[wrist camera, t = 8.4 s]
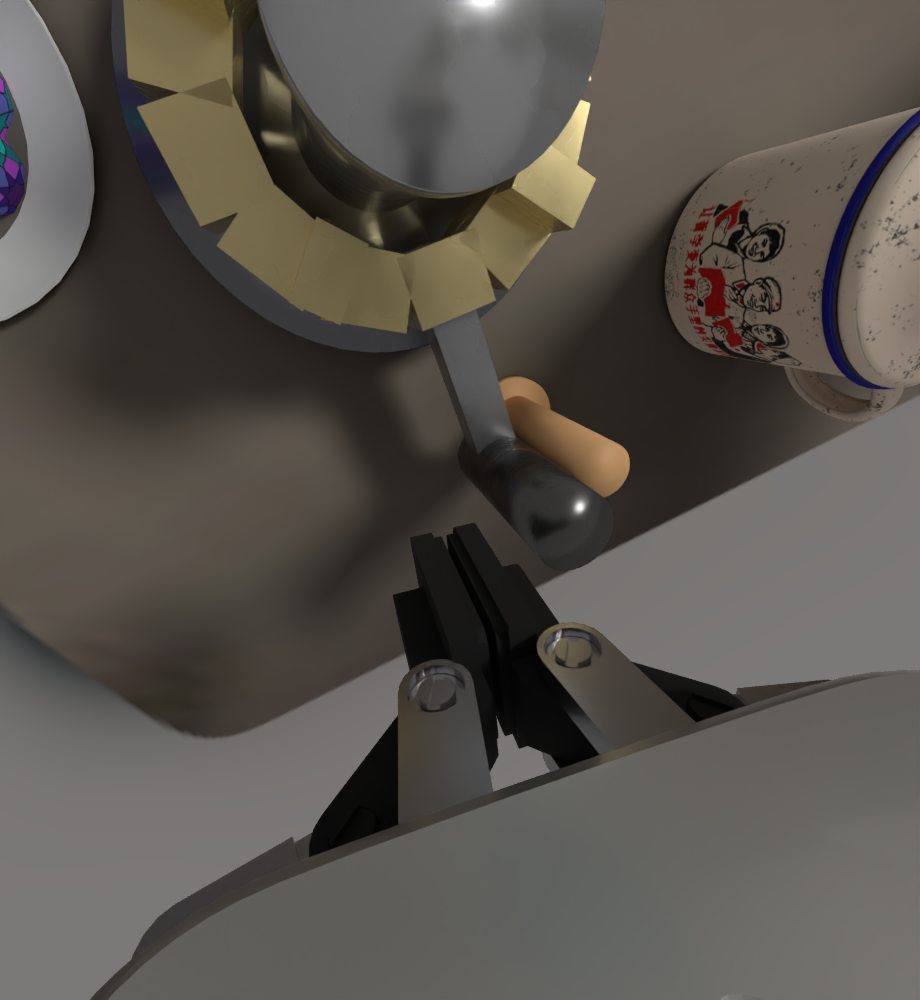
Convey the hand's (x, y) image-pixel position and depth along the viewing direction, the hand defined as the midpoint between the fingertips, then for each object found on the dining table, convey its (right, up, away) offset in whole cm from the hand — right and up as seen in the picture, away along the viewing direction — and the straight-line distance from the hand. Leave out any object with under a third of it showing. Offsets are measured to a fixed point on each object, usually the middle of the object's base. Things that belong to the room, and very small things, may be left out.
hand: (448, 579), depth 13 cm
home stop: (+3, +6, +11) cm, 13 cm away
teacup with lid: (+14, +13, +12) cm, 23 cm away
